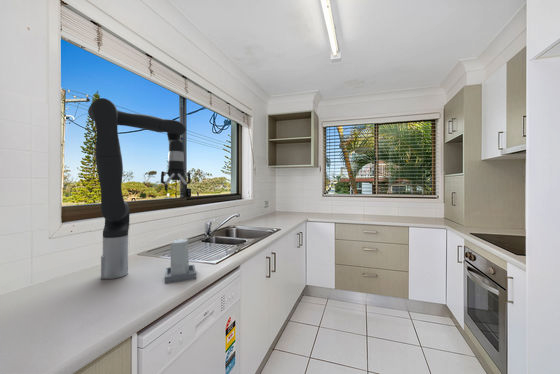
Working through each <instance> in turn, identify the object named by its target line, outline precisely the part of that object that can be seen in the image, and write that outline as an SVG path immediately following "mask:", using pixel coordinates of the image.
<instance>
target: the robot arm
mask: <svg viewBox="0 0 560 374" xmlns="http://www.w3.org/2000/svg"><path fill="white" fill-rule="evenodd" d="M87 114H88V116H89V118H90V119H91V120H92V121H93V122H94V123H95V124H94V125H95V128H96V139H95V148H94V149H95V150H94V151H95V153H94V154H95V164H96V170H97V171H96V172H97V176H98V181H99V186H100V187H99V188H100V214H101V215H102V217H103V218H104V227H103V229H102V255H101V256H100V280H102V279H105V280H111V279H118V278H123V277H125V276H127V275H128V274H129V228H130V211H131V210H130V205H129V203H128V202H127V201H126V200H125V199H124V196H123V190H122V183H123V172H124V165H123V157H122V151H121V144H120V143H121V142H120V139H119V133H118V131H119V130H118V126H124V127H130V128H135V129H141V130H145V131H150V132H156V133H166V134H167V140H168V156H167V161H168V162H167V166H168V167H167V171H161V174H160V184H163V185H164V191H166V193H168V190H169V189H168V188H169V187H168V186H169V182H170V181H181V182H182V183H183V192H184V193H186V192H187V191H188V185H190V184H191V183H192V181H191V172H189V171H188V172H185V156H184V151H185V150H184V142H183V141H182V140H181V136H182V135H184V134H185V133H186V131H187V127H186V125H185V124H184V123H183V122H181V121H179V120H174V119H170V118H169V119H167V118H162V117H158V116H153V115H149V114H141V113H131V112H125V111H120V110H118V109H117V106H116V105H115V103H114V102H112V101H111V100H110V99H107V98H104V97H103V98H102V97H101V98H97V99H95V100H94V101H93V102H92V103H90V105H89V107H88V109H87ZM165 176H168V178H167V179H166V181H165V180H164V179H165ZM184 176H186V177H187V181H186V180H185V178H184Z"/></svg>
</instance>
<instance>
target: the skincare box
mask: <svg viewBox="0 0 560 374" xmlns="http://www.w3.org/2000/svg"><path fill="white" fill-rule="evenodd" d="M189 256H190V255H189V239H188V238H184V239H183V238H182V239H175V240H173V241H172V242H170V267H171V276H172V275H180V274H187V273H188V272H189V265H190V264H189V263H190V262H189Z"/></svg>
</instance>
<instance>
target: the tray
mask: <svg viewBox="0 0 560 374" xmlns="http://www.w3.org/2000/svg"><path fill="white" fill-rule="evenodd" d="M195 267H196V266H195V264H189V272H188V273H187V274H180V275H172V276H171V266H170V267H169V266H168V267H165V270H164V271H165V272H164V284H171V283H175V282H176V283H177V282H183V281H192V280H197V271H196V268H195Z"/></svg>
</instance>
